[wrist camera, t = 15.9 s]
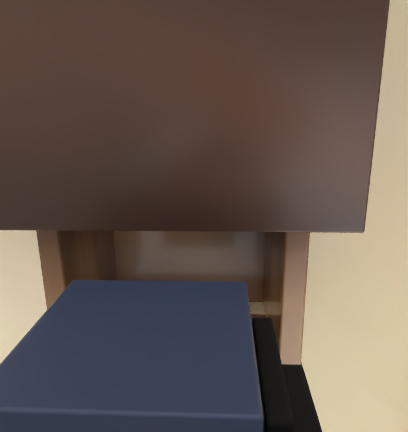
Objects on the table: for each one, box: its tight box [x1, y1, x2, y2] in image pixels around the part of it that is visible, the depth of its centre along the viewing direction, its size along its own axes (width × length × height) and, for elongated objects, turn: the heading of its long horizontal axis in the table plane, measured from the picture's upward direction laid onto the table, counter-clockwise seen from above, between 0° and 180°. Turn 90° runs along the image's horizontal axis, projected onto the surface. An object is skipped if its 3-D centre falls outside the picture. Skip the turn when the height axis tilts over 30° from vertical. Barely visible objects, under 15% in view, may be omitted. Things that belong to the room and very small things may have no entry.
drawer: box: [36, 230, 310, 365], centre depth 17 cm, size 18×10×7 cm, turn 1°
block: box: [0, 280, 264, 432], centre depth 9 cm, size 5×5×5 cm
